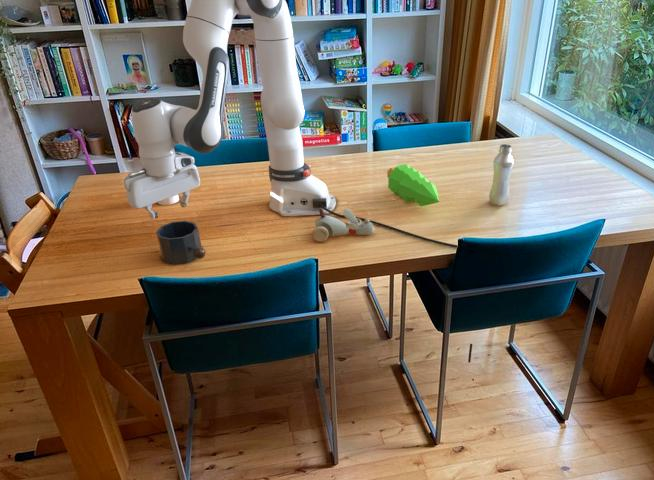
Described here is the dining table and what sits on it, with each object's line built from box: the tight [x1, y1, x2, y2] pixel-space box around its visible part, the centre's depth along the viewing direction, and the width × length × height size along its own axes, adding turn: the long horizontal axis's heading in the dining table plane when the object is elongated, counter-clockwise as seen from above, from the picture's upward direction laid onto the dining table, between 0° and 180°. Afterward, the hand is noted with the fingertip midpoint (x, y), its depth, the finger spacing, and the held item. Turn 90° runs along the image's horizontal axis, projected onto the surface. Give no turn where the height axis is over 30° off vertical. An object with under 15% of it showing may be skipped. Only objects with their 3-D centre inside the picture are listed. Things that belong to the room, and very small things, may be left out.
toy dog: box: [312, 208, 375, 243], centre depth 165 cm, size 12×19×9 cm, turn 114°
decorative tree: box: [386, 163, 440, 208], centre depth 184 cm, size 11×12×30 cm
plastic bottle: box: [488, 143, 514, 206], centre depth 180 cm, size 6×7×20 cm
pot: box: [155, 220, 206, 265], centre depth 154 cm, size 8×11×17 cm
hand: (169, 211), depth 150 cm, fingers open, 8 cm apart
